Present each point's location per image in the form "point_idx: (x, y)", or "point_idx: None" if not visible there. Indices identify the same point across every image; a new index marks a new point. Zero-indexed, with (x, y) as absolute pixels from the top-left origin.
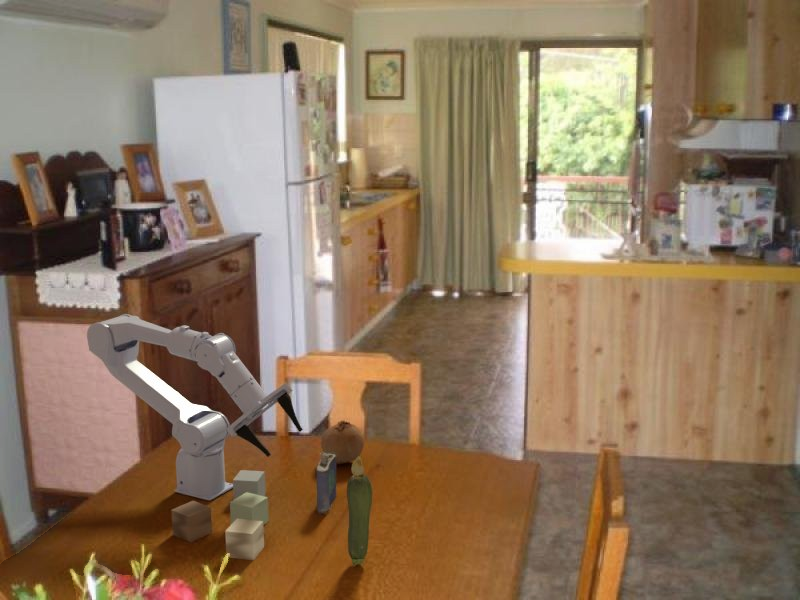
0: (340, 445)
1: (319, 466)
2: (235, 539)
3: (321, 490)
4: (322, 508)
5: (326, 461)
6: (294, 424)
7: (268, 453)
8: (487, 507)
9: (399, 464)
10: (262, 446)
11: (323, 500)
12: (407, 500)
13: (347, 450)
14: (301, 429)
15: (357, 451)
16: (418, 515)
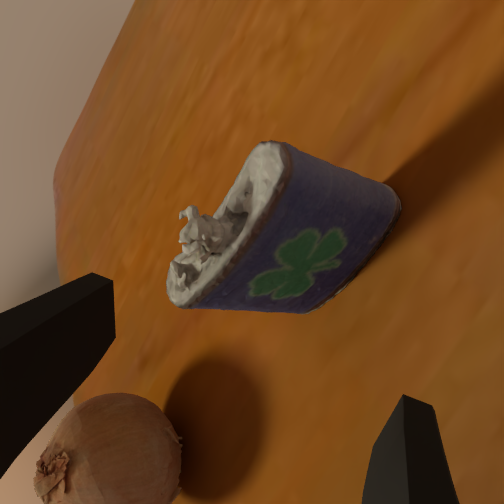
0: (123, 427)
1: (256, 203)
2: None
3: (340, 170)
4: (383, 185)
5: (215, 219)
6: (61, 308)
7: (410, 408)
8: (150, 42)
9: (123, 329)
10: (415, 479)
11: (361, 176)
12: (204, 146)
13: (131, 406)
14: (91, 274)
15: (124, 393)
16: (231, 56)
